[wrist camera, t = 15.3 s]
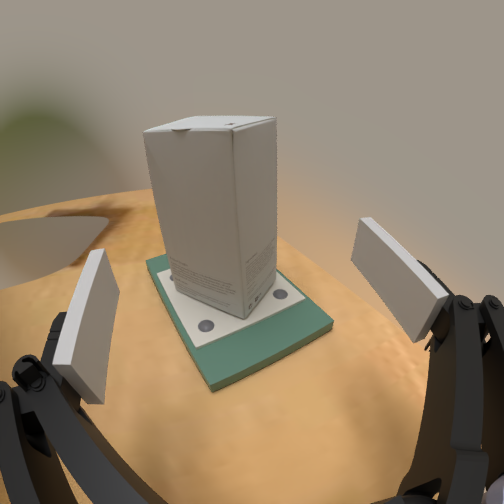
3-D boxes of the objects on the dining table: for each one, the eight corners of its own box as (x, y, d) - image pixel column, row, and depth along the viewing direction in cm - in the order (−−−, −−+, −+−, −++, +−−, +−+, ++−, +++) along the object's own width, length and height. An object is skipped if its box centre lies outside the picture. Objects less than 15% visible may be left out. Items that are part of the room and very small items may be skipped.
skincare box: (277, 281, 28) (284, 116, 19) (242, 325, 23) (235, 127, 14) (209, 257, 31) (197, 113, 23) (169, 291, 27) (139, 126, 18)
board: (331, 329, 24) (334, 318, 24) (211, 392, 19) (209, 383, 18) (235, 239, 37) (235, 229, 36) (147, 268, 32) (145, 258, 31)
